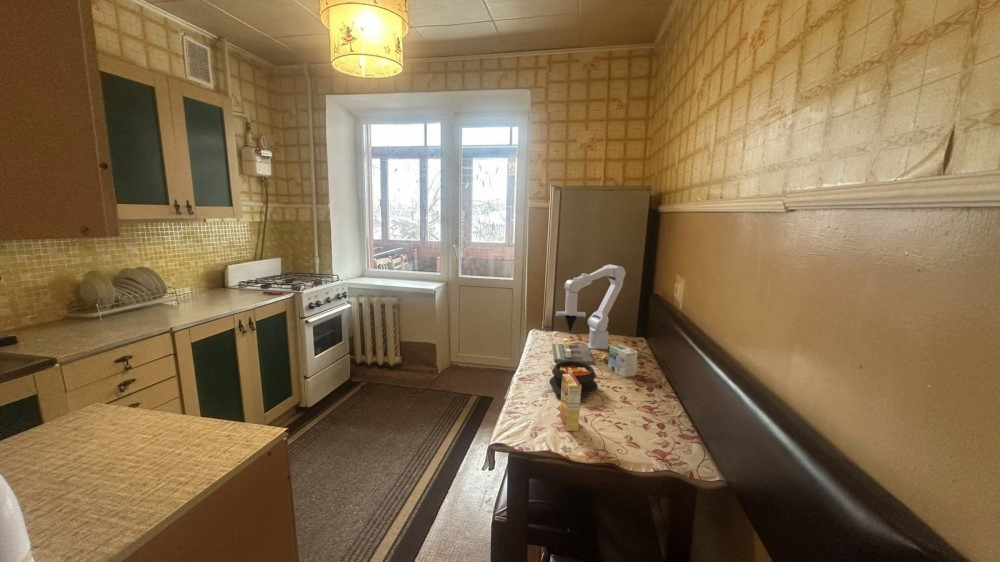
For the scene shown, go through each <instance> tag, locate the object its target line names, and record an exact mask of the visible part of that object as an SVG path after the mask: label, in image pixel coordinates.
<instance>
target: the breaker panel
mask: <svg viewBox="0 0 1000 562" xmlns="http://www.w3.org/2000/svg"><path fill="white" fill-rule="evenodd" d="M565 342H566V343H569V340H568V337H567V338H565V337H563V339H562V343H552V344H551V347H552V349H551V350H552V355H553V362H554V363H560V362H564V361H576V362H581V363H585V364H587V365H594V364H595V361H594V359H593V356H592V352H590V348H589V346H588V344H570V343H569V349H566V352H565V351H564V344H565Z"/></svg>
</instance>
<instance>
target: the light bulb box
mask: <svg viewBox="0 0 1000 562" xmlns="http://www.w3.org/2000/svg"><path fill="white" fill-rule="evenodd" d="M608 350H609V351H608V363H607V369H608V370H610V371H612V372H614V373H616V374H617V375H619V376H621V377H622V378H627V377H628V378H629V377H634V376H636V374H637V363H638V362H637V361H638V350H635V349H632V348H630V347H628V346H626V345H624V344H622V343H619V344H614V345H609V348H608Z"/></svg>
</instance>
